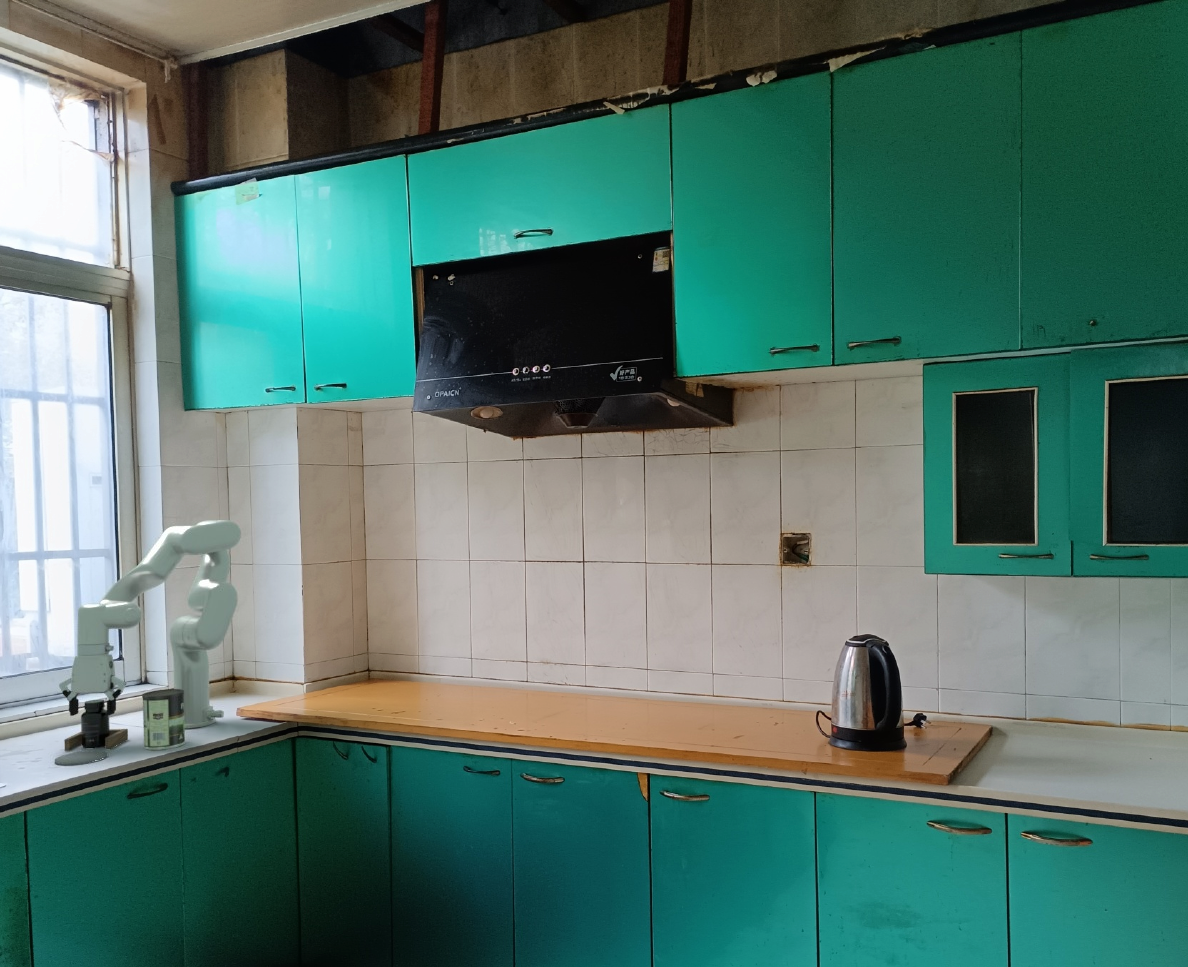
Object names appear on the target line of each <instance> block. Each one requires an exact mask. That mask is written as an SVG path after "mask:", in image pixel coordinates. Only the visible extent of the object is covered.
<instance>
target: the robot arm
mask: <svg viewBox="0 0 1188 967" xmlns="http://www.w3.org/2000/svg"><path fill="white" fill-rule="evenodd" d="M241 538H242V531H241V529H240V526H239V525H238V524H237V523H236V522H234V521H232V520H228V519H224V520H223V519H221V520H217V519H216V520H215V519H213V520H212V519H211V520H210V519H209V520H203V521H199V522H198V523H196V525H173V526H170V527H168V528H166V529H165V530H164V531H163V532H162V533H161V535H160V536H159V537H158V538H157V539H156V541H155V543H154V544H153V545H152V547H151V548H150V549H149V551H147V553H146V554H145V555H144V557H143V559H142V560H141V561H140V562H139V564H138V565H136V566H135V567H134V568H132V569H131V570H130V571H129V572H127V573H126V574H125V575H124V576H122V577H121V578H120V579H118V580H117V581H116V582H115V583H114V584H113V585H111V587H110V588H109V589H108V591H107V592H106V593H105V594H104V596H103V597H102V598H101V600H100V602H99V603H87V604H82V605H80V606H79V607H78V608H77V652H76V653H77V655H75V656H74V658H73V659H74V660H73V664H72V667H71V668H72V669H71V676H70V678H68V679H65V680H64V681H62V682H60V683H59V684H58V686H59V688H60V690H61V691H62V695H63V696H64V698H66V701H68V712H69V716H71V717H72V716H76V715H78V714H79V703H80V701H79V699H78V696H79V695H80V694H82V695H83V694H105V697H107V698H108V700H107V701H106V710H107V715H109V716H112V715H114V714H115V712H116V710H117V699H118V698H119V697H120V695H122V693H123V692H124V690H125V687H126V686H127V682H125V681H124V680H122V679H120V678H118V677H117V676H116V670H115V668H116V667H115V663H114V659H113V658H114V657H113V654H112V653H110V652H111V651H114V649H115V648H114V645H110V642H109V641H110V640H109V639H110V634H109V633H110V630H113V629H114V630H130V629H132V628H135V627H136V626H137V625H139V624H140V622H141V621H142V618H143V612H142V609H141V608H140V606H139V605H138V604H136V603H134V602H133V601H135V599H136V598H138V597H139V596H140V595H142V594H143V593H145V592H147V591H150V590H152V589H154V588H156V587H158V586H160V585H162V584H163V583H165V582H166V581H167V580H168V578H169V577H170V576H171V574H172V573H173V572H174V570H175V568H177V566H178V564H179V563H180V562H181V561H182V559H183V557H184V556H200V563H199V566H198V569H197V571H196V572H197V573H196V575H195V578H194V580H193V582H192V585H191V588H190V589H189V592H188V597H187V605H188V606H189V608H190V609H191V610H193V611H195V612H198V613H201V615H195V614H194V615H193V614H190V615H189V614H188V615H182V616H179V617H178V618H176V619H175V620H174V621H173V622H172V624H171V625H170V628H169V642H170V646H171V651H172V657H173V689H181V690H184V729H196V728H203V727H206V726H211V725H213V724H215V723H216V721H217V719H222V718H224V717H225V712H224V711H223V710H215V709H214V706H213V705H210V704H211V703H210V662H209V656H208V655H209V654H208V652H207V651H212V650H214V649H217V648H218V647H219V646H220V645H221V644H222V643H223V641H224V640H225V637H226V635H227V633H228V631H229V627H230V625H231V622H232V619H233V617H234V614H235V612H236V608H237V606H238V600H239V599H238V598H239V597H238V592H237V589H236V588H235V586H234V585H233V584H232V583H230V582H228V581H227V580H228V576H229V573H230V570H231V557H230V555H229V554H230V553H229V551H228V550H229V549H232V548H235V547H236V546H237V545H238V544H239V542H240V541H241ZM68 685H70V689H71V690H70V689H69V686H68ZM116 685H117V689H116ZM115 689H116V690H115Z"/></svg>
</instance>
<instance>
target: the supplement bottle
mask: <svg viewBox="0 0 1188 967" xmlns="http://www.w3.org/2000/svg"><path fill="white" fill-rule="evenodd" d="M105 707H106V704H105V700H104V699H101V698H99V699H92V700H86V701H85V702H84V710H85V711H84V712H82V714H81V715H80V730H81V731H80V732H81V736H82V745H81V747H82V748H83V749H86V748H93V749H99V748H105V738H107V737H109V736H110V729H111V728H110V715H107V709H106V708H105Z"/></svg>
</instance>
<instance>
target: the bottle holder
mask: <svg viewBox="0 0 1188 967" xmlns="http://www.w3.org/2000/svg"><path fill="white" fill-rule="evenodd" d="M126 740H127V741H128V740H129V730H128V728H115V729H114V728H110V736H109V737H107V738H105V746H104V748H105V749H110V750H111V748H112V749H114V748H115V746H116V745H117V746H119V745H121V744H123V743H125V742H126ZM63 742H64V751H65V752H70V751H72V750H74V749H76V748H78V747H80V746H82V736H81V731H80V732H77V733H75V734H73V735H71V736H69V737H67V738H64V740H63ZM120 743H121V744H120ZM117 746H116V747H117Z"/></svg>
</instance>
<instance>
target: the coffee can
mask: <svg viewBox="0 0 1188 967" xmlns="http://www.w3.org/2000/svg"><path fill="white" fill-rule="evenodd" d="M141 696H142V716H143V717H142V718H143V722H142V723H143V725H142V726H143V749H144V748H145V749H144V750H147V749H148V750H149V751H159V750H160V751H161V750H162V749H163V750H170V749H175V748H179V747H181V746H184V745H185V744H186V741H185V740H186V737H185V736H186V734H185V731H186V730H185V729H184V690H181V689H174V688H168V689H167V688H165V689H159V690H158V689H156V690H151V691H148V692H145V693H142V694H141ZM169 748H170V749H169Z"/></svg>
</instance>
